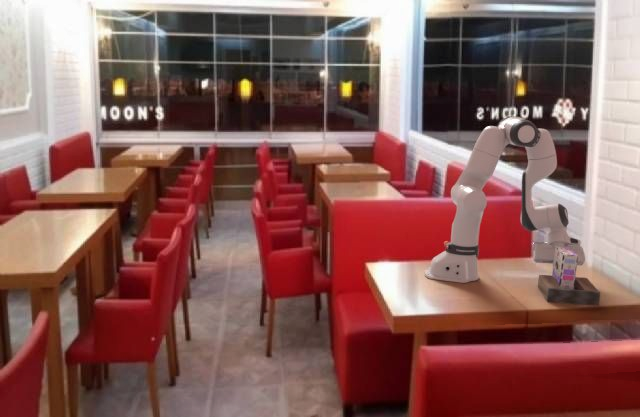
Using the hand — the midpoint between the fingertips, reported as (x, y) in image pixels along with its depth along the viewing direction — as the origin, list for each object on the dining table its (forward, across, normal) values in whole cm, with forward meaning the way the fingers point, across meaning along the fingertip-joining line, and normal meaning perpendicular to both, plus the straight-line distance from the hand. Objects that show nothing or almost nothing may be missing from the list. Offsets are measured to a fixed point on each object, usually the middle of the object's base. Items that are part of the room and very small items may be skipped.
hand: (560, 272), depth 276 cm
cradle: (+13, 0, -6) cm, 14 cm away
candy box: (+9, -1, -1) cm, 9 cm away
